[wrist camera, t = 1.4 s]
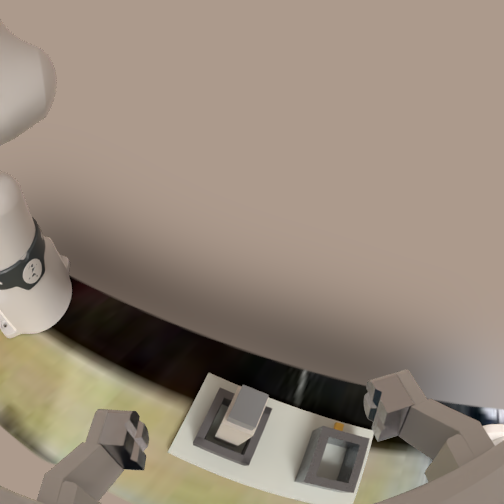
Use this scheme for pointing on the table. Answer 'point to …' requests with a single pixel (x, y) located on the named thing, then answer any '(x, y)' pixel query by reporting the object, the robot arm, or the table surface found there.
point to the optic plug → (242, 416)
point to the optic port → (349, 466)
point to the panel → (262, 446)
